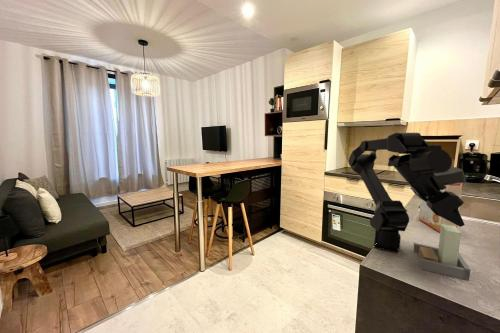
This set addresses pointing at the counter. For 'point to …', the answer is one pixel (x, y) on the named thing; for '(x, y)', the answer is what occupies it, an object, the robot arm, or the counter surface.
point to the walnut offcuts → (427, 254)
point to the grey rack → (443, 265)
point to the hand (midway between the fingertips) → (453, 218)
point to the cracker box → (429, 216)
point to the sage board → (449, 245)
